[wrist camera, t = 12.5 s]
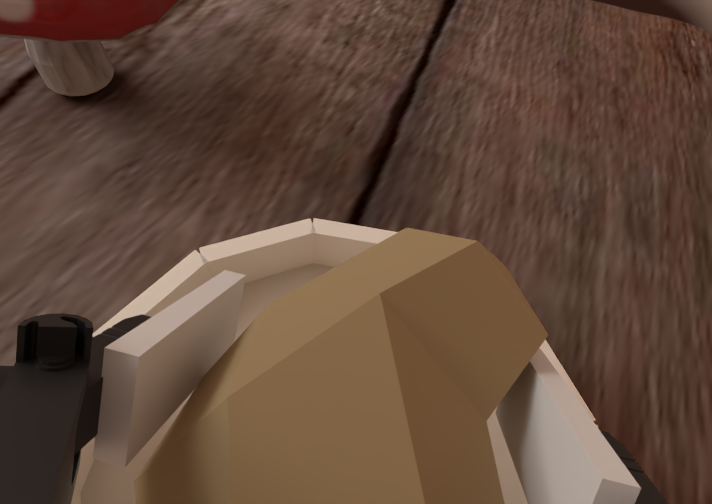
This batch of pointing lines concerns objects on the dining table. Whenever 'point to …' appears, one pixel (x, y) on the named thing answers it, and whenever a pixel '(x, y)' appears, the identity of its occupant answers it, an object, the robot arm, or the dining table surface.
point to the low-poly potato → (358, 387)
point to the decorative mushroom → (76, 36)
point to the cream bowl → (262, 286)
